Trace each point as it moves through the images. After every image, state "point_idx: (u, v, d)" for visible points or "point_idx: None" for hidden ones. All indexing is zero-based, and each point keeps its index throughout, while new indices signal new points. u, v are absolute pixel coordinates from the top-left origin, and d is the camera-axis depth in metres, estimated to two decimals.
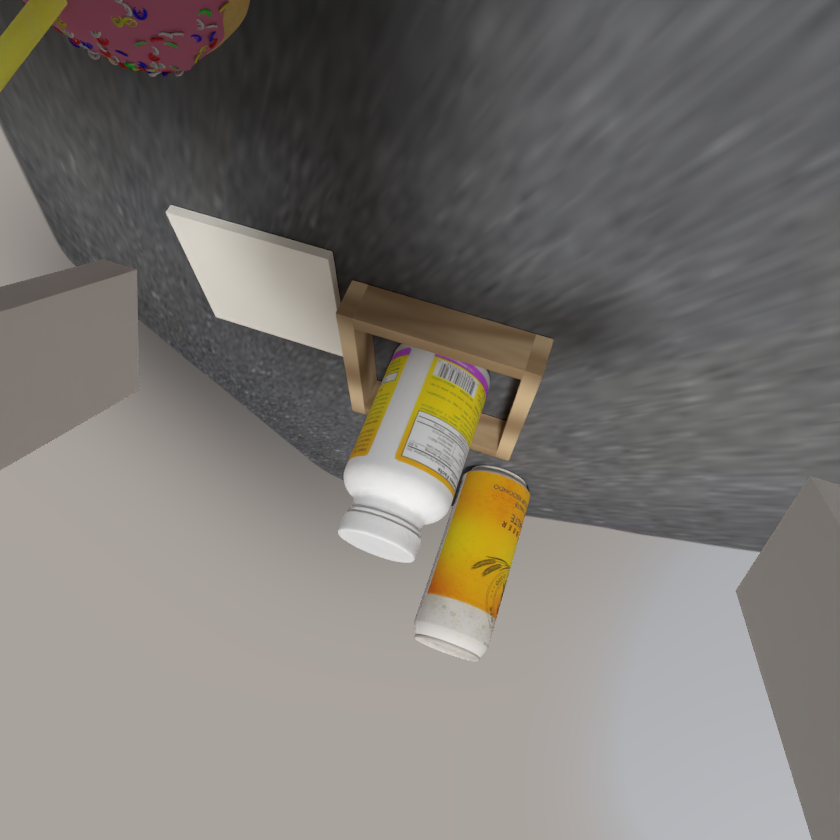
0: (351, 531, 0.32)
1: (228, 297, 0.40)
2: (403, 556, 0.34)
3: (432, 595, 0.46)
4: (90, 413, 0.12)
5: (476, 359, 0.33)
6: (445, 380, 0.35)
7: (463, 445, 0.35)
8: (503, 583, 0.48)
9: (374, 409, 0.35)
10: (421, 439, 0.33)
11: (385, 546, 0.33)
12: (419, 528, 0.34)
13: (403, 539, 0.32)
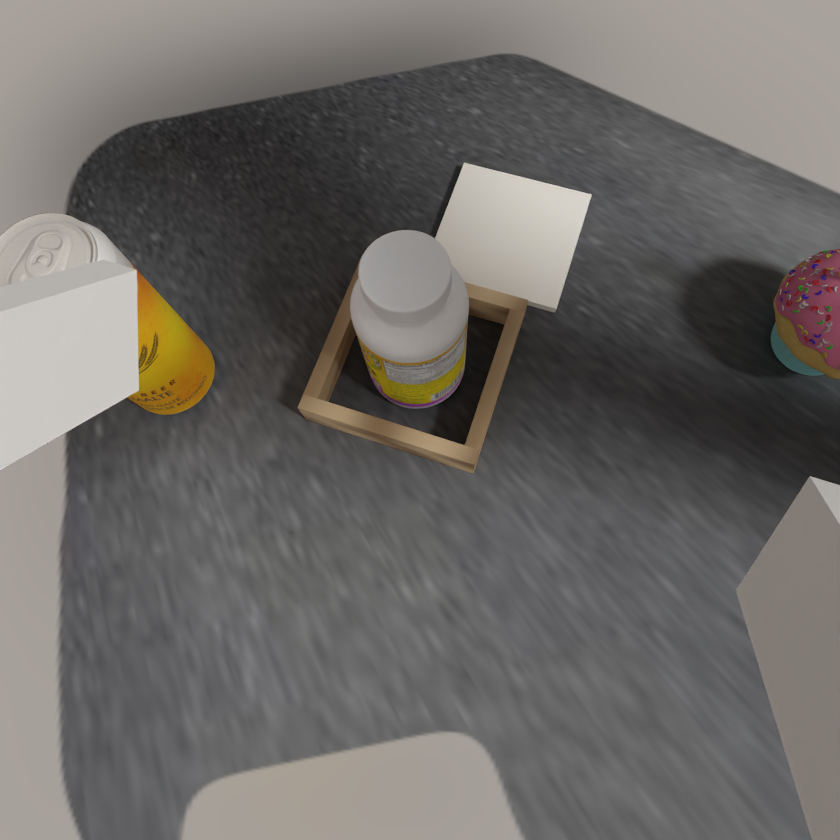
0: (445, 256, 0.30)
1: (495, 192, 0.45)
2: (393, 298, 0.29)
3: (132, 267, 0.31)
4: (91, 413, 0.12)
5: (487, 409, 0.38)
6: (458, 374, 0.38)
7: (420, 381, 0.35)
8: None
9: None
10: (460, 347, 0.34)
11: (418, 285, 0.29)
12: (402, 322, 0.31)
13: (428, 309, 0.29)
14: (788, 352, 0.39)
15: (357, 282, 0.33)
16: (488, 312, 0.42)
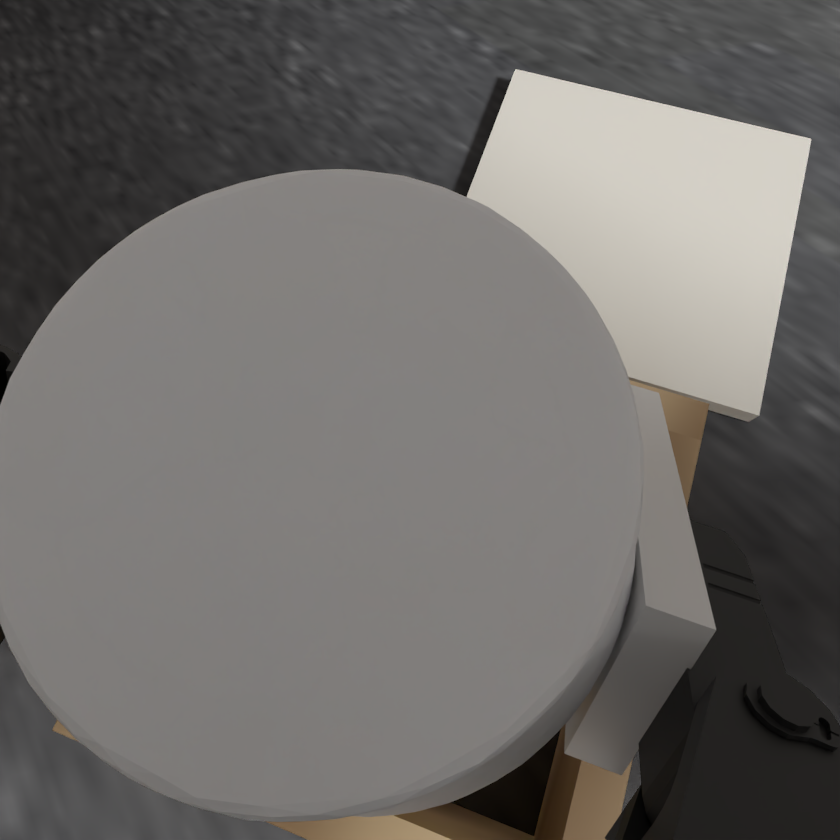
0: (593, 343, 0.04)
1: (588, 133, 0.20)
2: (204, 687, 0.04)
3: None
4: None
5: None
6: None
7: None
8: None
9: None
10: None
11: (401, 572, 0.04)
12: None
13: None
14: None
15: None
16: None
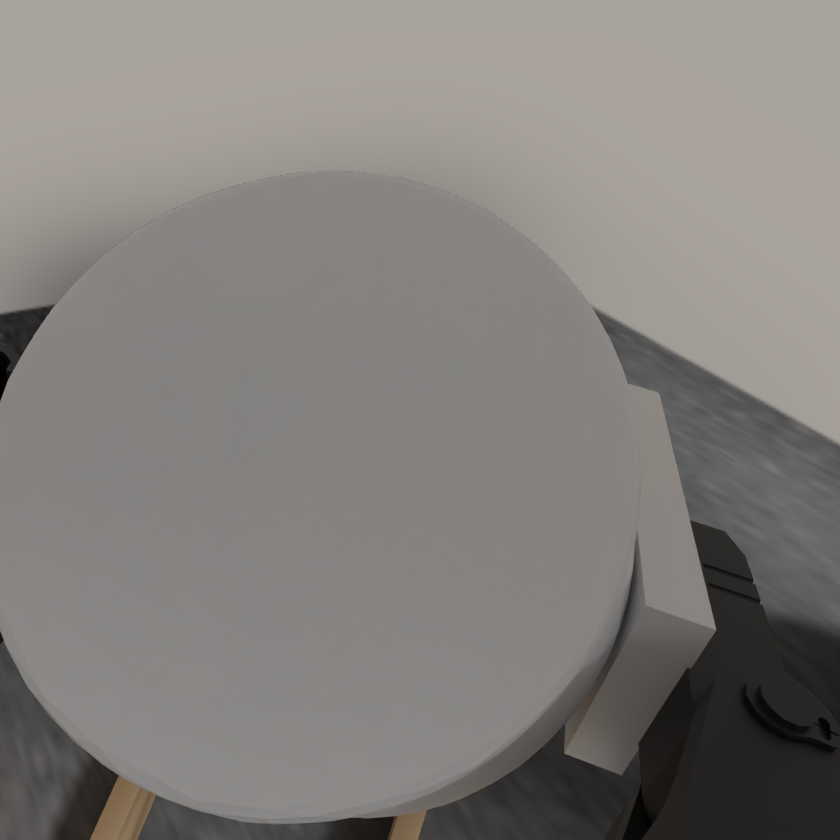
0: (591, 345, 0.04)
1: None
2: (202, 689, 0.04)
3: None
4: None
5: None
6: None
7: None
8: None
9: None
10: None
11: (399, 574, 0.04)
12: None
13: None
14: None
15: None
16: None
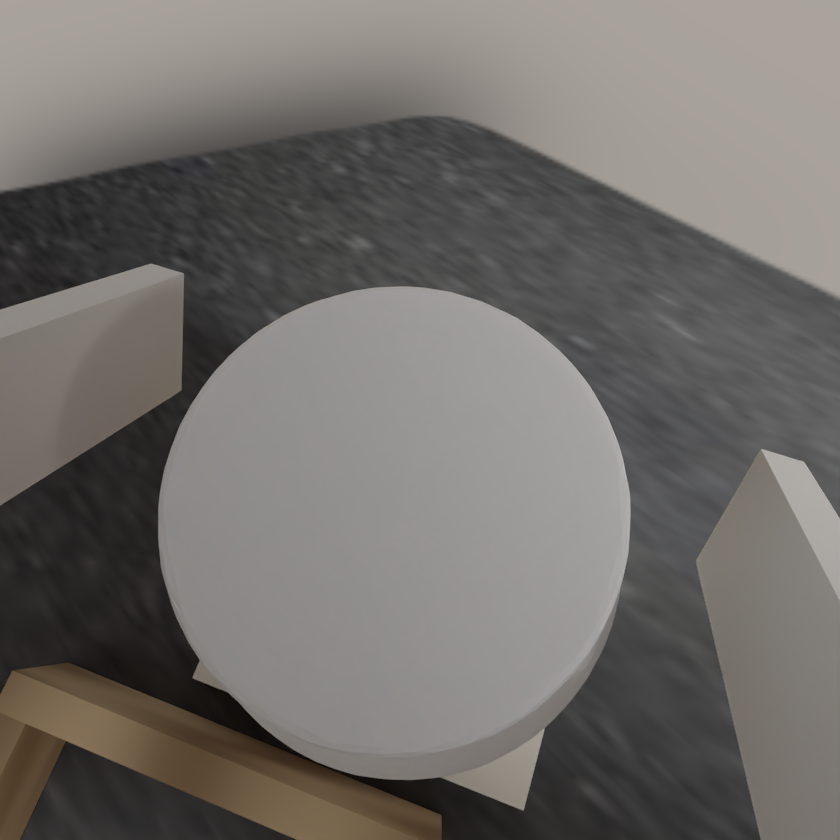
0: (594, 421, 0.06)
1: None
2: (331, 668, 0.05)
3: None
4: (138, 413, 0.12)
5: None
6: None
7: None
8: None
9: None
10: None
11: (465, 586, 0.06)
12: None
13: None
14: None
15: None
16: None
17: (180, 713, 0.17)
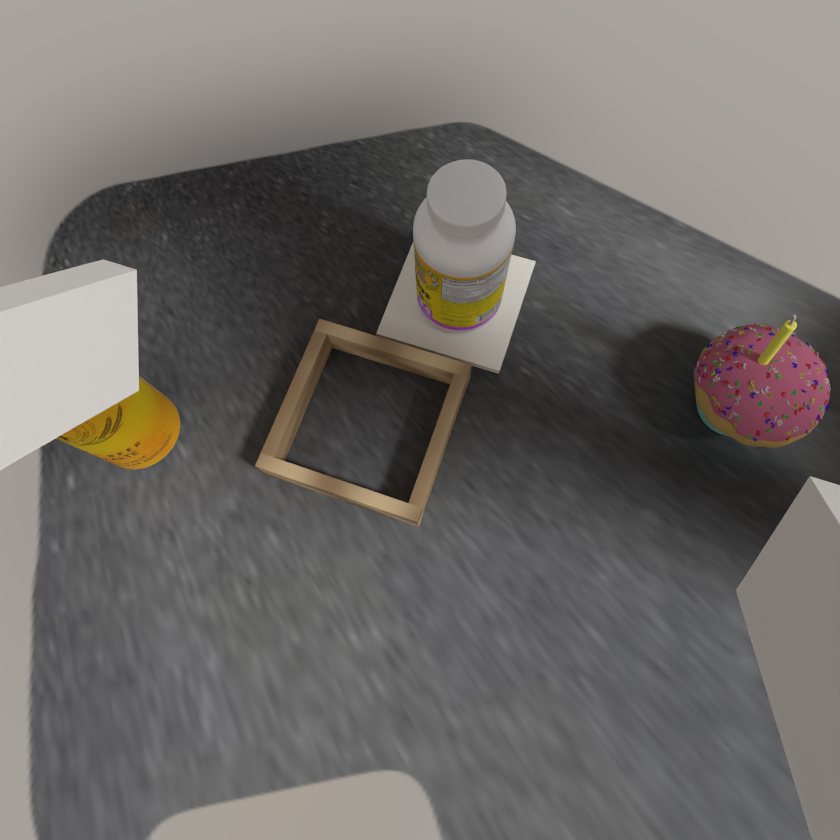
0: (500, 180, 0.35)
1: None
2: (458, 215, 0.34)
3: None
4: (91, 413, 0.12)
5: (430, 469, 0.41)
6: (499, 299, 0.44)
7: (470, 299, 0.41)
8: (73, 438, 0.36)
9: None
10: (506, 268, 0.40)
11: (479, 203, 0.35)
12: (463, 239, 0.36)
13: (488, 225, 0.35)
14: None
15: (419, 209, 0.38)
16: (435, 374, 0.45)
17: None
